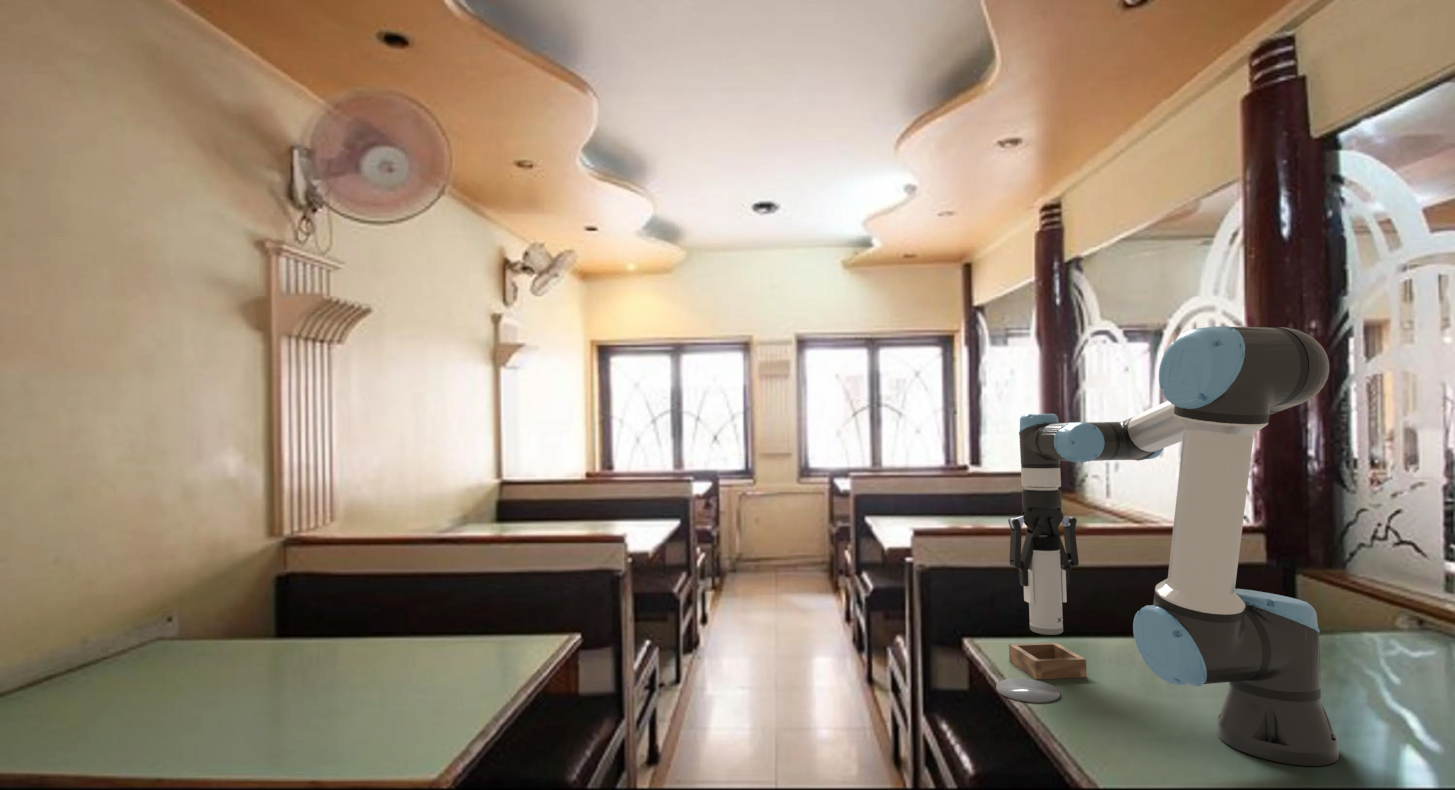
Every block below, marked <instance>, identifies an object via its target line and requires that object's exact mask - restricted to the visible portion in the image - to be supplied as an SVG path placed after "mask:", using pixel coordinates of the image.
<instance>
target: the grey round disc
mask: <svg viewBox="0 0 1455 790" xmlns="http://www.w3.org/2000/svg"><path fill="white" fill-rule="evenodd" d="M995 687H996V691H997V693H999V694H1000V695H1001V696H1003V697H1006V698H1008V699H1010V700H1011V699H1012V700H1014V701H1018V702H1024V703H1036V704H1037V703H1039V704H1040V703H1041V704H1042V703H1051V702H1054V701H1057V700H1059V698H1060V694H1061V692H1060V690H1059V688H1057V687H1056V686H1054V685H1052V684H1050V683H1047V682H1044V681H1041V680H1038V679H1029V678H1006V679H1002V680H999V681H997V683H996V686H995Z"/></svg>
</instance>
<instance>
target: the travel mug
mask: <svg viewBox="0 0 1455 790" xmlns="http://www.w3.org/2000/svg"><path fill="white" fill-rule="evenodd" d="M1060 535H1061V536H1062V533H1061V532H1060ZM1033 545H1034V547H1033V556H1032V560H1031V563H1030V567H1029V570H1031V571H1033V588H1034V603H1033V604H1030V603H1028V609H1029V610H1028V611H1029V614H1028V615H1029V629H1030V631H1032V632H1033V633H1036V634H1040V635H1049V636H1050V635H1053V636H1054V635H1055V636H1056V635H1060V634H1062V633H1063V632H1064V624H1063V623H1064V622H1063V621H1064V619H1063V617H1064V616H1063V602H1062V589H1061V563H1060V553H1059V552H1060V547H1059V535H1057V536H1054V537H1052V536H1048V535H1047V534H1046V533H1044V534H1040V535H1039V538H1033Z"/></svg>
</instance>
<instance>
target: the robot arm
mask: <svg viewBox="0 0 1455 790" xmlns="http://www.w3.org/2000/svg"><path fill="white" fill-rule="evenodd" d="M1329 373H1330V360H1329V358H1328V354H1327V353H1326V350H1325V349H1324V348H1323V346H1322V344H1320V343H1319V342H1318V341H1317V340H1316V339H1315V338H1314V337H1312V336H1310V334H1308V333H1306V332H1303V331H1301V330H1299V329H1294V328H1291V327H1285V326H1284V327H1282V326H1281V327H1279V326H1275V327H1273V326H1272V327H1263V326H1261V327H1256V326H1255V327H1254V326H1252V327H1251V326H1250V327H1249V326H1225V325H1220V326H1218V325H1217V326H1214V325H1213V326H1207V327H1197V328H1193V329H1189V330H1187V331H1185V332H1183V333H1182V334H1179V336H1177V338H1176V339H1175V340H1173V341H1172V342H1171V343H1170V344H1169V346H1168V347H1167V348H1166V350H1165V352H1164V353H1163V356H1162V358H1161V361H1160V364H1159V370H1158V383H1159V387H1160V389H1163V391H1162V395H1163V396H1164V398H1165V399H1166V401H1164V402H1162V403H1160V404H1157V405H1156V406H1153V407H1151V408H1150V409H1147V410H1144V411H1143V412H1140V413H1138V414H1136V415H1134V416H1132V417H1130V418H1127V419H1125V420H1122V421H1110V422H1109V421H1104V422H1103V421H1101V422H1100V421H1098V422H1091V421H1089V422H1087V421H1086V422H1085V421H1071V422H1059V417H1058V414H1055V413H1030V414H1029V413H1028V414H1027V413H1025V414H1023V415H1021V416H1020V418H1019V432H1018V435H1019V451H1020V452H1019V453H1020V473H1021V474H1020V475H1021V486H1022V487H1023V488H1024V489H1023V488H1022V490H1021V501H1022V502H1021V505H1022V512H1021V514H1020V516H1018V517H1010V518H1008V521H1007V522H1008V525H1009V528H1010V538H1009V539H1010V540H1009V543H1010V544H1009V565H1010V566H1011V567H1013V568H1016V569H1018V571H1019V572H1018V575H1019V584H1020V586H1021V587H1023V600H1024V602H1026V603H1028V604H1029V603H1030V604H1033V603H1034V588H1033V571H1031V570H1029V567H1030V563H1031V560H1032V556H1033V547H1034V545H1033V538H1039V535H1040V534H1044V533H1046V534H1047V535H1048V536H1052V537H1054V536H1057V535H1059V547H1060V552H1059V553H1060V563H1061V589H1062V603H1067V598H1068V597H1067V586H1069V585H1070V582H1071V579H1070V576H1071V575H1070V571H1071V570H1072V569H1073V568H1074V567H1077V566H1079V554H1078V545H1077V536H1076V526H1077V522H1078V521H1077V517H1073V516H1066V515H1064V514H1063V511H1062V506H1063V504H1062V502H1063V501H1062V491H1061V490H1060V489H1059V488H1061V487H1062V480H1061V479H1062V478H1061V462H1062V461H1063V462H1071V463H1086V462H1095V461H1096V462H1097V461H1145V460H1152V459H1155V458H1157V457H1159V456H1160V455H1161V453H1162V452H1163V451H1164V448H1168V447H1170V446H1172V445H1175V444H1178V443H1180V442H1182V443H1181V455H1180V462H1179V464H1180V465H1179V471H1178V472H1179V473H1178V480H1177V490H1176V499H1175V509H1174V515H1173V516H1174V518H1173V527H1172V535H1171V545H1170V554H1169V555H1170V556H1169V565H1168V573H1167V574H1168V575H1167V578H1165V579H1164V580H1162V581H1160V582H1159V583H1157V584H1156V585H1155V587H1154V596H1153V604H1151V605H1148V604H1146V605H1144V606H1143V607H1141V608H1140V610H1138V611H1137V612H1136V613H1135V614H1134V618H1133V623H1132V630H1133V638H1134V642H1135V645H1136V648H1137V650H1138V652H1139V653H1140V655H1141V657H1142V660H1143V662H1144V663H1145V664H1146V667H1148V668H1149V669H1150V671H1152V673H1153V674H1155V675H1156V677H1158V678H1159V679H1161V680H1162V681H1164V682H1166V683H1168V684H1171V685H1174V686H1192V687H1201V686H1203V685H1209V684H1222V683H1228V687H1227V691H1226V693H1225V697H1224V700H1223V703H1222V707H1221V711H1220V713H1219V715H1218V717H1217V719H1216V720H1217V721H1216V724H1217V725H1216V726H1217V727H1216V728H1217V729H1216V731H1217V737H1219V738H1220V740H1221V741H1222V742H1223V743H1225V744H1226V745H1228V746H1229V747H1232V748H1233V749H1236V750H1237V751H1240V752H1243V753H1245V754H1248V755H1250V756H1254V757H1256V758H1260V759H1263V760H1267V761H1272V762H1277V763H1282V764H1287V765H1294V766H1304V767H1307V766H1308V767H1309V766H1310V767H1316V766H1317V767H1321V766H1327V765H1331V764H1335V763H1336V762H1337V761H1338V760H1339V757H1340V756H1339V754H1340V753H1339V743H1338V742H1339V741H1338V738H1337V736H1336V735H1335V734H1334V730H1333V728H1332V725H1331V724H1332V723H1331V721H1330V719H1329V717H1328V714H1327V712H1326V710H1325V708H1324V707H1325V706H1324V705H1323V702H1322V689H1321V688H1322V687H1321V686H1322V685H1321V661H1320V660H1321V654H1320V652H1321V651H1320V631H1321V629H1320V628H1319V626H1318V625H1319V624H1318V616H1317V615H1318V614H1317V611H1316V609H1315V607H1313V606H1312V605H1311V604H1310V603H1308V602H1307V601H1304V600H1301V599H1297V598H1294V597H1290V596H1285V595H1280V594H1275V593H1271V592H1263V591H1258V590H1253V589H1245V588H1244V589H1243V588H1236V582H1237V575H1238V567H1239V559H1240V558H1239V557H1240V550H1241V544H1242V543H1241V542H1242V534H1243V525H1244V517H1245V509H1246V502H1247V501H1246V499H1247V492H1248V486H1249V485H1248V484H1249V478H1250V477H1249V476H1250V469H1251V461H1252V460H1251V459H1252V452H1253V451H1252V450H1253V444H1254V435H1255V434H1256V433H1257V432H1258V431H1260V430H1262V429H1263V428H1265V427H1266V426H1268V425H1269V420H1270V415H1273V414H1276V413H1279V412H1282V411H1284V410H1288V409H1289V408H1293V407H1296V406H1298V405H1299V406H1300V405H1302V404H1303V403H1306V402H1307V401H1309V400H1311V399H1312V398H1314V397H1316V396H1317V394H1319V393H1320V391H1321V390H1322V389H1323V388H1324V387H1325V384H1326V382H1327V381H1328V379H1329ZM1023 524H1025V527H1026V530H1025V534H1024V535H1025V539H1024V543H1023V545H1022V536H1023V535H1022V534H1023V532H1022V531H1023V530H1022V528H1023V526H1024V525H1023ZM1060 524H1062V528H1063V529H1062V531H1063V538H1064V539H1063V540H1064V544H1063V541H1062V539H1061V537H1062V534H1061V535H1060V533H1061V532H1060V530H1059V527H1060Z"/></svg>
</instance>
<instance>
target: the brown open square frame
mask: <svg viewBox="0 0 1455 790" xmlns="http://www.w3.org/2000/svg"><path fill="white" fill-rule="evenodd" d="M1008 654H1009V655H1008V656H1009V658H1008V661H1009V662H1010V663H1012V665H1015V666H1016V667H1017V668H1019V669H1020V670H1021V671H1023V672H1025V673H1026V674H1027V675H1029V676H1030V677H1032V678H1033V679H1034V680H1051V679H1052V680H1053V679H1076V678H1077V679H1078V678H1079V679H1081V678H1088V677H1087V675H1088V673H1087V659H1086V657H1085V658H1084V657H1082V656H1081V655H1079V654H1077V653H1076V652H1073V651H1072V650H1070V649H1068V648H1067V647H1065V646H1063V645H1061V644H1060V643H1058V642H1035V643H1034V642H1033V643H1008Z"/></svg>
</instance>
